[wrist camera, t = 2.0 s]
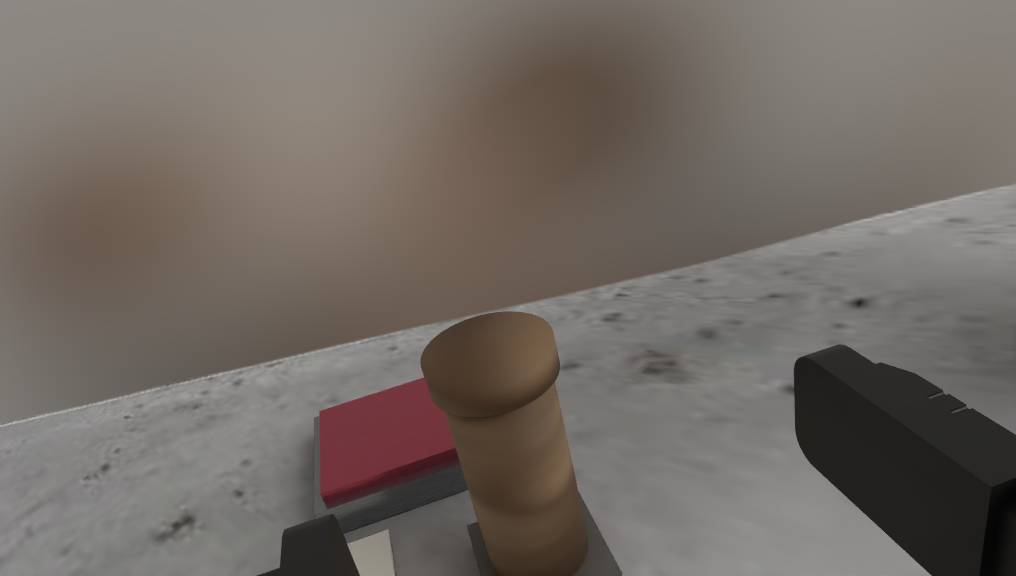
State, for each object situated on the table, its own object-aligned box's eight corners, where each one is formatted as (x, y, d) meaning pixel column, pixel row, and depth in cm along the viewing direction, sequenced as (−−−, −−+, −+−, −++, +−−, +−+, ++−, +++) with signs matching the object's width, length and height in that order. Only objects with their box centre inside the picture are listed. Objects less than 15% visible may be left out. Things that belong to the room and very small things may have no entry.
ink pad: (456, 395, 40) (447, 365, 39) (487, 482, 33) (477, 447, 32) (323, 440, 39) (310, 409, 38) (325, 539, 32) (309, 504, 31)
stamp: (580, 507, 30) (534, 295, 25) (625, 594, 26) (581, 358, 21) (473, 545, 29) (406, 335, 25) (501, 643, 25) (426, 409, 20)
